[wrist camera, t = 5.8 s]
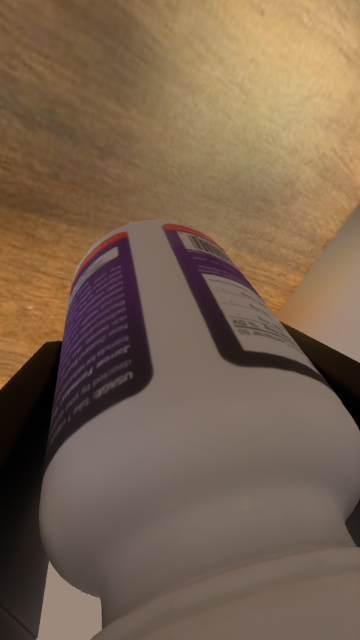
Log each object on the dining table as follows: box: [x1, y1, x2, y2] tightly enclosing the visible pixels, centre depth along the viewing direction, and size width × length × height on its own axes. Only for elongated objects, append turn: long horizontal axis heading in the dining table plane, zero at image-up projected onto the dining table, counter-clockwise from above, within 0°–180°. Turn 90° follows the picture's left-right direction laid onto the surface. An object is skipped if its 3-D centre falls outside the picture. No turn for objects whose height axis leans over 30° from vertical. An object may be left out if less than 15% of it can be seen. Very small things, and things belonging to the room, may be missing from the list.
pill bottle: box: [39, 219, 360, 640], centre depth 7 cm, size 5×5×10 cm
